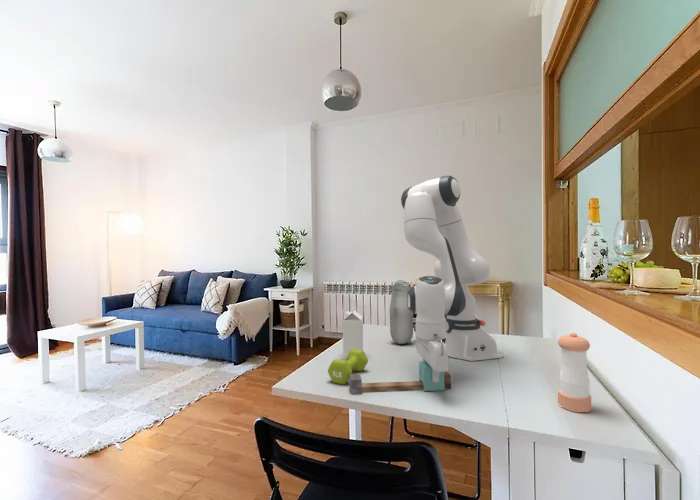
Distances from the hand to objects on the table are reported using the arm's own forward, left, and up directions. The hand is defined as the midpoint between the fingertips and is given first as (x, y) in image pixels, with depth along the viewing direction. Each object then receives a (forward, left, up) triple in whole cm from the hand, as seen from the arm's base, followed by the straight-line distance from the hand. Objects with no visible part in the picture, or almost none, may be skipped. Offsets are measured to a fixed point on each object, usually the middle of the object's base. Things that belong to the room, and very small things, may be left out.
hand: (431, 377), depth 104 cm
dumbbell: (+24, -12, -4) cm, 27 cm away
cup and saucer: (-22, -50, -4) cm, 55 cm away
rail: (+10, 0, -3) cm, 10 cm away
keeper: (0, 0, -3) cm, 3 cm away
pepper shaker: (-33, +16, -3) cm, 37 cm away
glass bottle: (-2, -50, -3) cm, 50 cm away
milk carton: (+21, -32, -3) cm, 38 cm away
